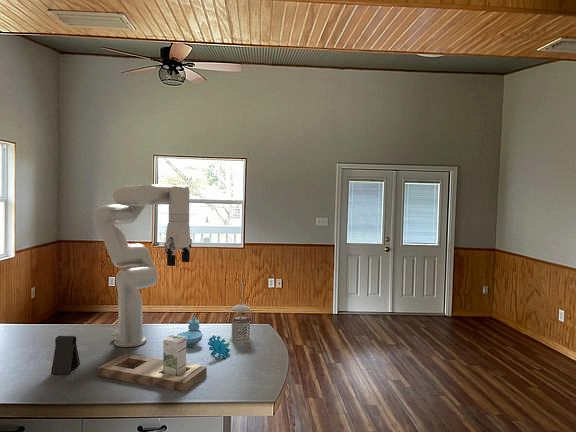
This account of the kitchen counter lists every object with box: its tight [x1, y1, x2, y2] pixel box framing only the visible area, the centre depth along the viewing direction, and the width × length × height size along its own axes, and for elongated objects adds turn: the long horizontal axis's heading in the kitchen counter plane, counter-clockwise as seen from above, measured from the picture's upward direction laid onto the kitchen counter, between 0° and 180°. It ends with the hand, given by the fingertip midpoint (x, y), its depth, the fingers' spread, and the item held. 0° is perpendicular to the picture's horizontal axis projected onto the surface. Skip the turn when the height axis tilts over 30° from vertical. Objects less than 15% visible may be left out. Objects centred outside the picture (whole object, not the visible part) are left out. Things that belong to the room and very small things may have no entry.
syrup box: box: [162, 334, 187, 376], centre depth 152 cm, size 6×6×14 cm
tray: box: [97, 353, 208, 393], centre depth 155 cm, size 34×14×3 cm, turn 71°
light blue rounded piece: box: [176, 316, 204, 347], centre depth 190 cm, size 18×10×9 cm, turn 1°
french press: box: [228, 282, 255, 344], centre depth 195 cm, size 10×12×25 cm
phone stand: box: [50, 335, 81, 376], centre depth 158 cm, size 9×6×12 cm, turn 179°
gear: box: [207, 335, 231, 360], centre depth 175 cm, size 11×6×10 cm
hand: (178, 263), depth 169 cm, fingers open, 9 cm apart
